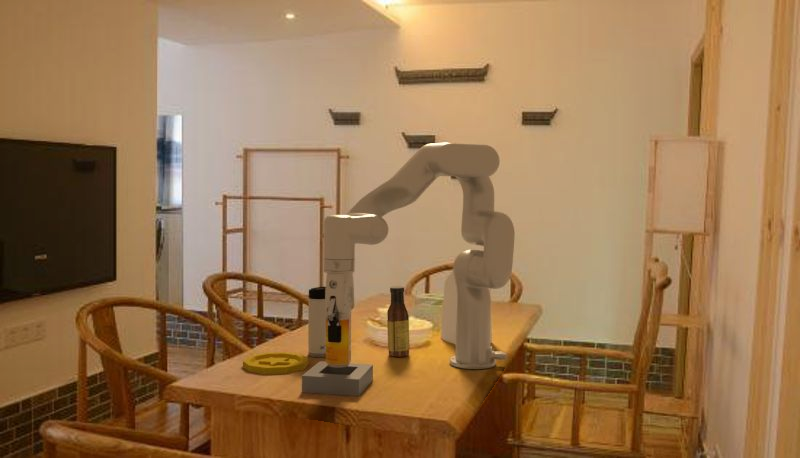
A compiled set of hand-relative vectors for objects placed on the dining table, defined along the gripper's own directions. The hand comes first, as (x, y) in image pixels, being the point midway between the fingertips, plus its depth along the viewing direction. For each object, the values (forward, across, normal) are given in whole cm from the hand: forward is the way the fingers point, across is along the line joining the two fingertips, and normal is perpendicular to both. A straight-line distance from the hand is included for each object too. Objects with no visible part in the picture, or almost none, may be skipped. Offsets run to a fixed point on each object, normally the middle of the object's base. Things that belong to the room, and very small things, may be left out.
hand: (338, 338), depth 178 cm
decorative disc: (+12, +15, +22) cm, 29 cm away
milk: (+12, +58, -25) cm, 64 cm away
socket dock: (+12, 0, 0) cm, 12 cm away
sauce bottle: (+12, +34, -8) cm, 37 cm away
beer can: (+7, 0, 0) cm, 7 cm away
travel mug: (+12, +29, +14) cm, 34 cm away
